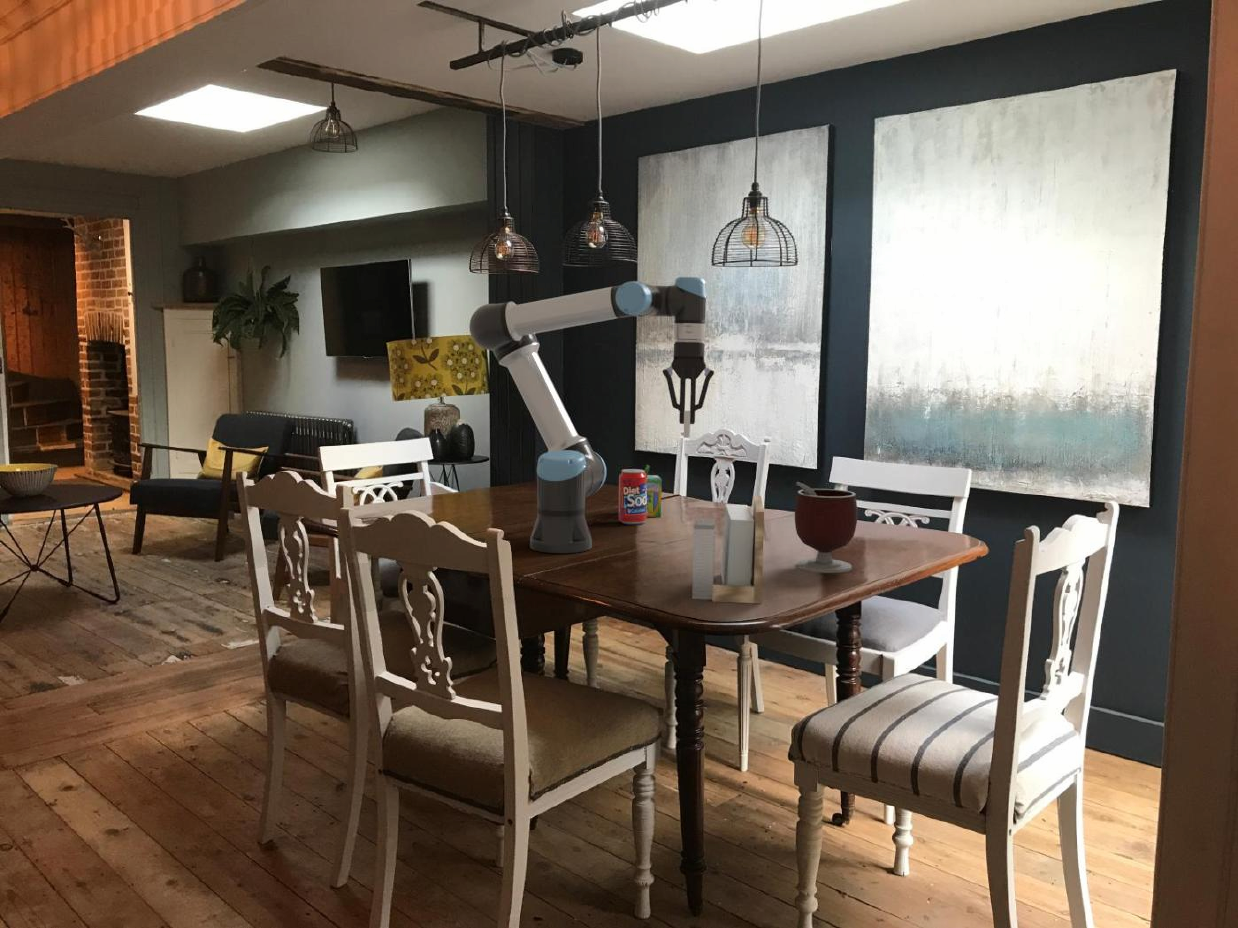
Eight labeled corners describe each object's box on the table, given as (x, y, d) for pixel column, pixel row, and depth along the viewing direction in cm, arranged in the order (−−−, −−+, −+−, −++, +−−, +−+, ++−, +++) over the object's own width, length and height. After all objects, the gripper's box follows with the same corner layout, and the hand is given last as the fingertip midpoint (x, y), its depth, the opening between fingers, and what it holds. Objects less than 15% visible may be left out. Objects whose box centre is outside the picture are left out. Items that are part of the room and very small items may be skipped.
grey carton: (692, 598, 197) (693, 524, 195) (693, 589, 205) (695, 518, 203) (712, 599, 197) (714, 525, 195) (713, 589, 205) (715, 518, 203)
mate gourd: (827, 558, 237) (830, 474, 235) (868, 570, 225) (871, 482, 222) (775, 564, 230) (777, 478, 227) (813, 576, 217) (817, 485, 215)
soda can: (630, 519, 287) (631, 467, 285) (652, 522, 282) (652, 470, 281) (612, 523, 281) (613, 470, 279) (634, 526, 276) (635, 472, 274)
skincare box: (752, 599, 198) (755, 520, 196) (725, 598, 198) (727, 519, 196) (745, 575, 219) (747, 503, 217) (720, 574, 219) (722, 502, 217)
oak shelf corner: (712, 601, 195) (714, 510, 193) (714, 576, 217) (716, 494, 215) (761, 603, 194) (764, 511, 192) (758, 577, 216) (760, 495, 214)
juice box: (626, 512, 299) (626, 463, 298) (656, 512, 300) (657, 463, 299) (630, 517, 290) (631, 467, 288) (661, 517, 291) (662, 467, 290)
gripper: (661, 340, 242) (659, 437, 244) (715, 341, 240) (712, 439, 243) (663, 341, 249) (661, 435, 252) (716, 342, 248) (713, 436, 250)
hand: (686, 437), depth 247 cm, fingers closed
